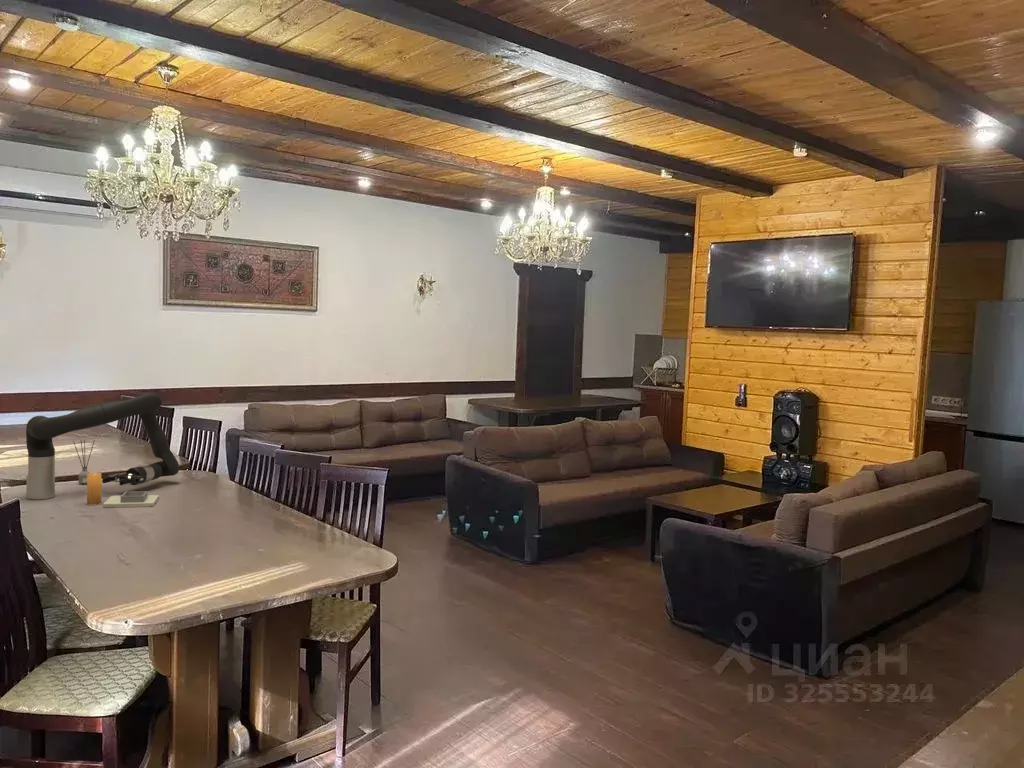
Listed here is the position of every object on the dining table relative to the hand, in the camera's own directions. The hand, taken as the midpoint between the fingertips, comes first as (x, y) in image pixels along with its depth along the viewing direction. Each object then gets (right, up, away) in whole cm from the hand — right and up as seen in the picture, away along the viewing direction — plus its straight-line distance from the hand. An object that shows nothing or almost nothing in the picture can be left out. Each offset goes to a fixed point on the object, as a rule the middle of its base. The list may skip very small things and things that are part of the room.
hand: (111, 481), depth 310 cm
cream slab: (+11, -8, -5) cm, 15 cm away
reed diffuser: (-25, -4, +25) cm, 35 cm away
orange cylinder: (-3, -8, -8) cm, 11 cm away
